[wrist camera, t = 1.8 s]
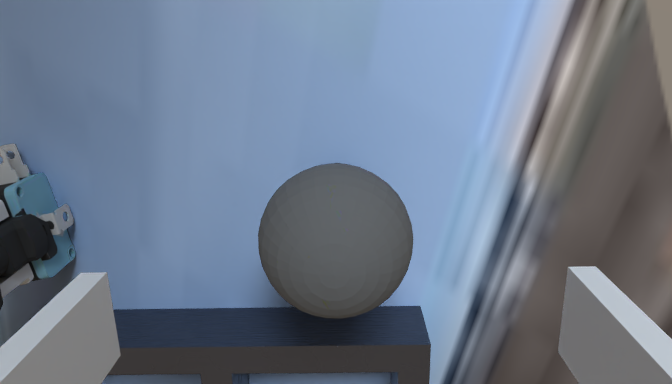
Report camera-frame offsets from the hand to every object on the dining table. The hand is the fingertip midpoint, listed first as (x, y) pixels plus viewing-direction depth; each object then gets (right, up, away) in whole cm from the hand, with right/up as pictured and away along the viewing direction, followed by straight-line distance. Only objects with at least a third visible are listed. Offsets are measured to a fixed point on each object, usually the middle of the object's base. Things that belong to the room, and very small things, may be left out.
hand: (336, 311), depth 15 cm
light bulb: (0, +4, +11) cm, 12 cm away
